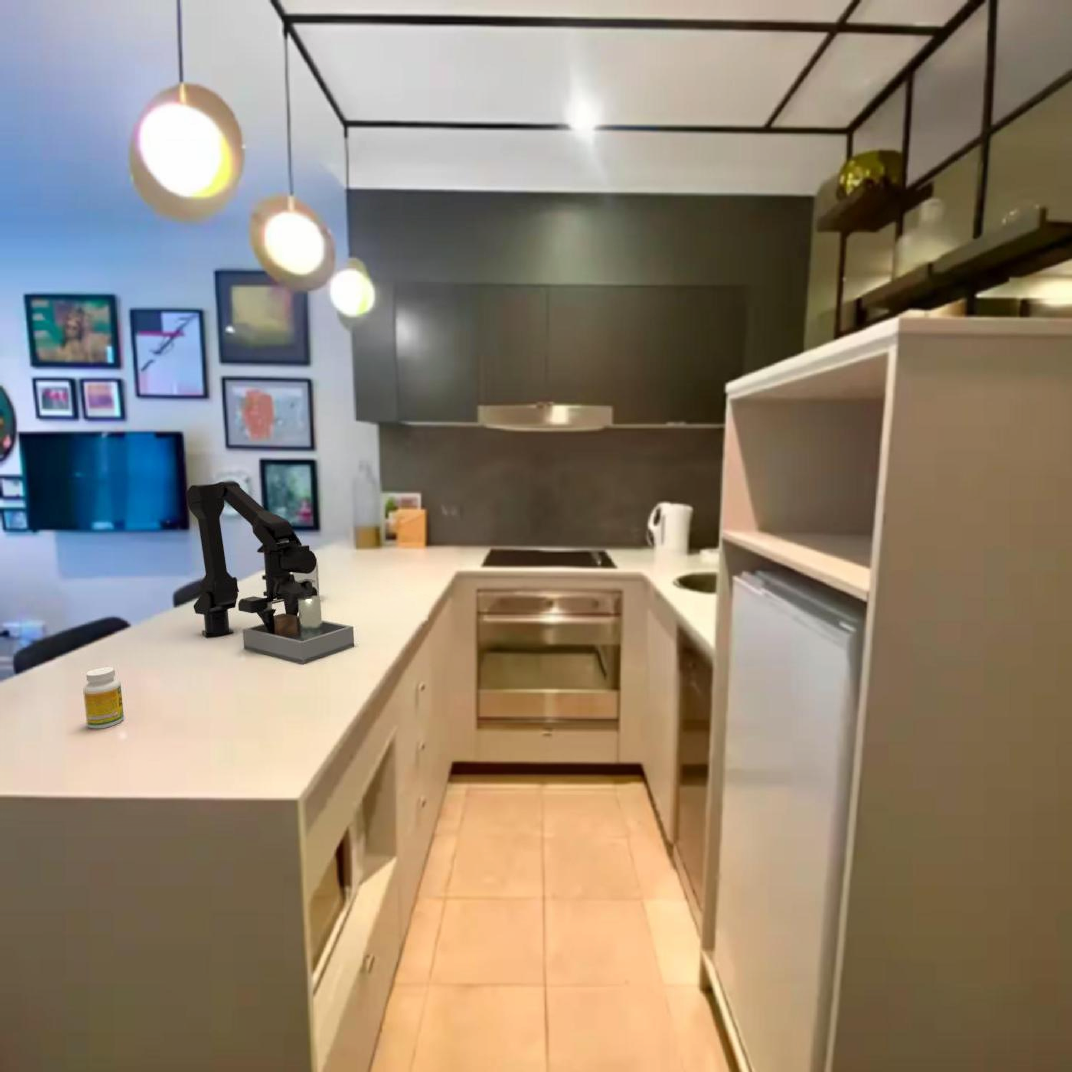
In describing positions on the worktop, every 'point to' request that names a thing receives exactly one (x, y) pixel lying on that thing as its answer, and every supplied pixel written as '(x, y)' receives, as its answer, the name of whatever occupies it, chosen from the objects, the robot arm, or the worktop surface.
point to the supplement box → (309, 578)
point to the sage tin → (310, 617)
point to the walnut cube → (285, 625)
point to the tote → (299, 642)
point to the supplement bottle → (103, 698)
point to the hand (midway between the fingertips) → (281, 632)
